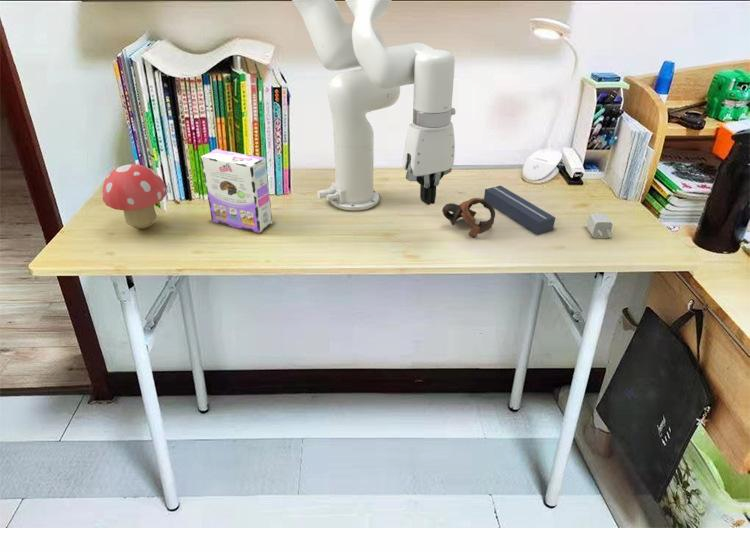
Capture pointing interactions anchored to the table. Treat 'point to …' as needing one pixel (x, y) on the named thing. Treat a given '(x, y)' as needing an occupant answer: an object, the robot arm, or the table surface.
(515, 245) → the table surface
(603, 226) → the usb wall charger
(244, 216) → the candy box
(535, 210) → the pencil case
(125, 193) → the decorative mushroom
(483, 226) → the brown curved looped piece
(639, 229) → the table surface
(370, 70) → the robot arm
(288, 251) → the table surface
